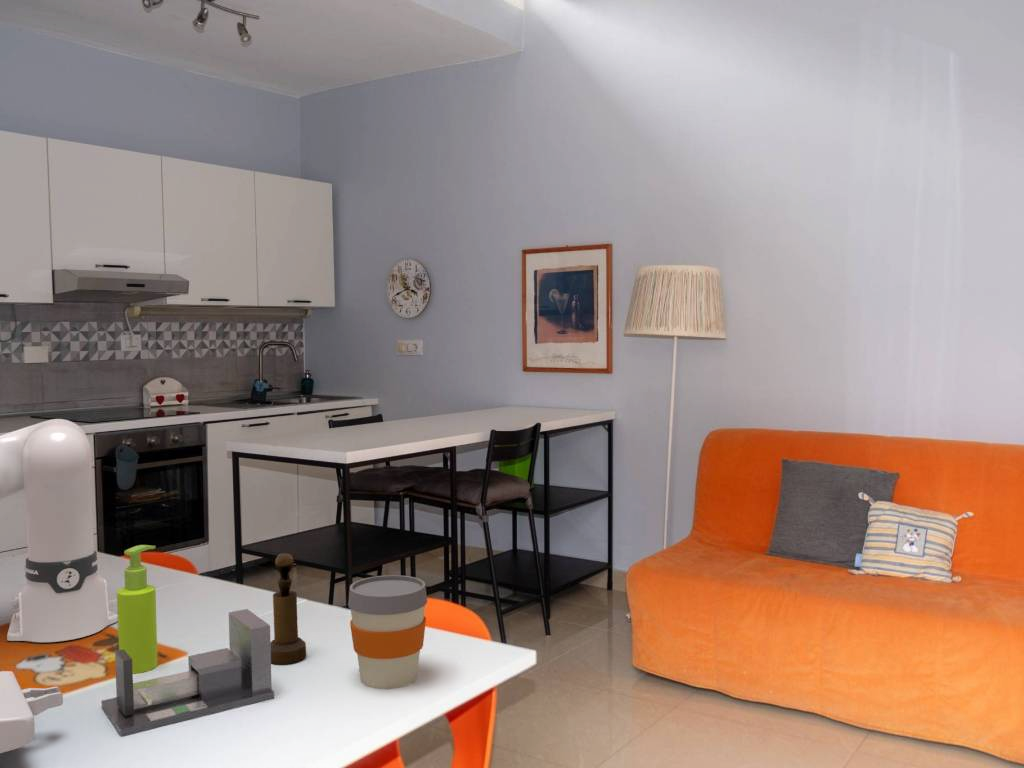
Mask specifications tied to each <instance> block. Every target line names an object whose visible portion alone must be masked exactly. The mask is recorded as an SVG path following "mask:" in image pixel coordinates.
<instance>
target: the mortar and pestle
mask: <svg viewBox="0 0 1024 768" xmlns="http://www.w3.org/2000/svg"><path fill="white" fill-rule="evenodd" d="M274 564H275V567H276V569H277V571H278V572H279V575H280V577H279V578H278V579H277V584H278V585H277V586H278V588H279V591H276V592H274V593H273V594H272V606H273V607H272V608H273V633H274V634H273V635H274V636H273V638H274V639H272V641H271V640H270V642H271V665H280V666H281V665H282V666H283V665H291V664H292V665H293V664H296V663H299V662H301V661H303V660H305V658H306V656H307V645H306V641H305V640H303V639H302V638H301V637H299V629H298V600H297V599H298V597H297V595H298V593H297V592H296V591H292V590H291V585H292V578H290V572H291V570H292V568H293V566H294V558H293V555H292V554H290V553H287V552H284V553H283V552H282V553H279V554H278V555H277V556H276V558H275V560H274Z"/></svg>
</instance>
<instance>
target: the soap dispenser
mask: <svg viewBox="0 0 1024 768" xmlns="http://www.w3.org/2000/svg"><path fill="white" fill-rule="evenodd" d="M156 547H157V546H156V545H148V544H139V545H135V546H132V547H130V548H128V549H125V550H124V552H123V553H124V555H127V556H128V555H129V566H127V567H126V568H124V570H123V571H124V587H121V588H119V589H118V590H117V591H116V603H117V604H116V606H117V607H116V608H117V609H116V610H117V615H118V621H117V628H118V629H117V630H118V631H117V632H118V633H117V635H118V636H117V637H118V650H122V649H124V650H125V651H126V652H127V654H128V655H129V656H130V657H131V658H132V669H133V674H141V673H145V672H146V673H147V672H149V671H152V670H154V669H156V668H157V667H158V665H159V662H158V661H159V659H158V630H157V605H156V603H157V602H156V596H157V595H156V587H155V586H154V585H151V584H148V575H147V574H148V572H147V567H146V566H145V565H143V564H142V558H141V557H142V556H141V555H142V554H141V553H144V551H148V550H155V549H156Z"/></svg>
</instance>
